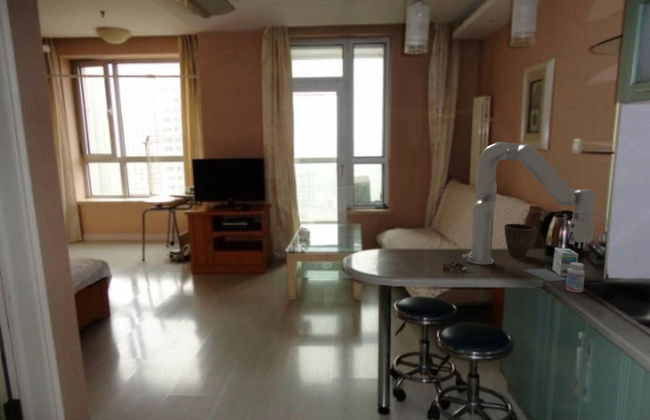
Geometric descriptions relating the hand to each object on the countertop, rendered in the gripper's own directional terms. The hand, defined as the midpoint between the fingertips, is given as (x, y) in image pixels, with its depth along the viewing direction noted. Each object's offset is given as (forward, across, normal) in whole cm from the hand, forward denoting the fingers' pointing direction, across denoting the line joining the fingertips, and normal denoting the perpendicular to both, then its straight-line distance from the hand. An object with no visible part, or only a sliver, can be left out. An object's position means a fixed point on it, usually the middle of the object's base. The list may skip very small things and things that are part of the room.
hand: (578, 255), depth 189 cm
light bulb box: (+8, -7, 0) cm, 11 cm away
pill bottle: (+8, -20, -19) cm, 29 cm away
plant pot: (+8, -7, +31) cm, 33 cm away
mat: (+8, -17, 0) cm, 19 cm away
